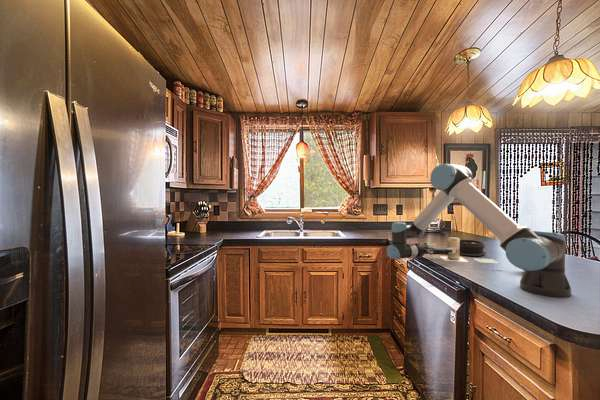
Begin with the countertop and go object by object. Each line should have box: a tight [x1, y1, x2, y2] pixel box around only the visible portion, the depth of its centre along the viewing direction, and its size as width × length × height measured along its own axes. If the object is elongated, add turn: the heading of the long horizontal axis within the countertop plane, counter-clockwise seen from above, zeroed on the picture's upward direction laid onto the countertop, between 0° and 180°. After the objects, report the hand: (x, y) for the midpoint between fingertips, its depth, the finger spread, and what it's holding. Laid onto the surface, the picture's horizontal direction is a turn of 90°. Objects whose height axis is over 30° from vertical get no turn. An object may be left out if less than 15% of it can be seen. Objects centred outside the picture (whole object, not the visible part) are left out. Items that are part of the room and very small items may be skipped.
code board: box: [439, 255, 469, 263], centre depth 160 cm, size 12×12×1 cm
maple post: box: [447, 236, 461, 260], centre depth 160 cm, size 6×6×12 cm
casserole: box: [460, 239, 487, 257], centre depth 176 cm, size 25×19×8 cm
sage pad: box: [472, 257, 501, 265], centre depth 155 cm, size 10×10×1 cm
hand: (445, 248), depth 159 cm, fingers open, 13 cm apart
